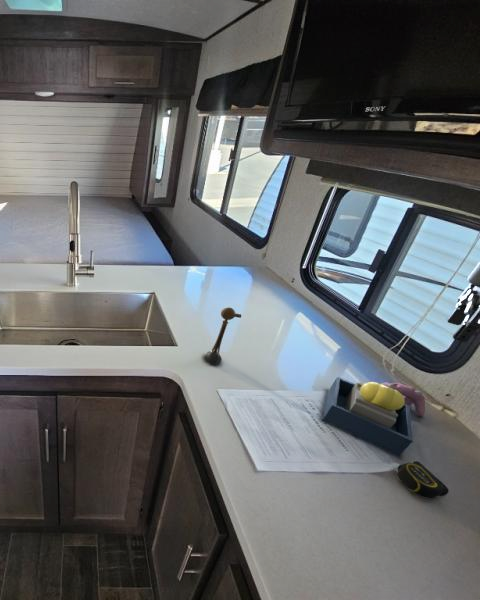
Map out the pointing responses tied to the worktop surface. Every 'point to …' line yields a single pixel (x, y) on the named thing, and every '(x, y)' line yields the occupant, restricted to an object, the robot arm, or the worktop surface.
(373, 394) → the yellow capsule
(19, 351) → the worktop surface
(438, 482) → the tape measure
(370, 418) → the block
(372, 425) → the crate
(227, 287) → the worktop surface
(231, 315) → the wooden tabletop sculpture
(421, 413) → the video game controller
